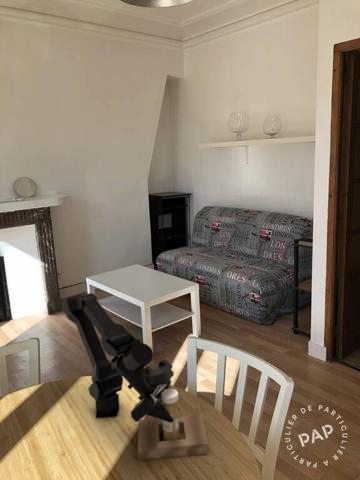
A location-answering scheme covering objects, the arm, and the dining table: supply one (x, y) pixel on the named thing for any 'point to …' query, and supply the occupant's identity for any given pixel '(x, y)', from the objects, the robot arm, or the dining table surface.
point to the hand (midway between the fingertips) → (175, 416)
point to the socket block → (174, 448)
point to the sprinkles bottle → (171, 405)
